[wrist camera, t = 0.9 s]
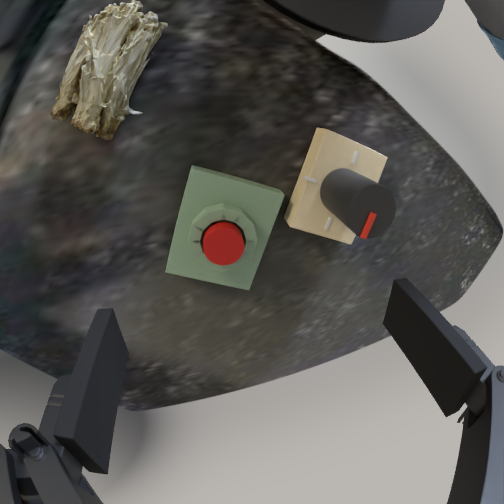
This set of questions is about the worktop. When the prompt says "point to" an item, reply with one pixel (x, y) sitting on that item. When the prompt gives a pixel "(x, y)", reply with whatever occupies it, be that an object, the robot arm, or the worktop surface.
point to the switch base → (222, 210)
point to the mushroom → (107, 68)
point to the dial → (358, 202)
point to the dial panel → (313, 173)
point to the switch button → (223, 243)
